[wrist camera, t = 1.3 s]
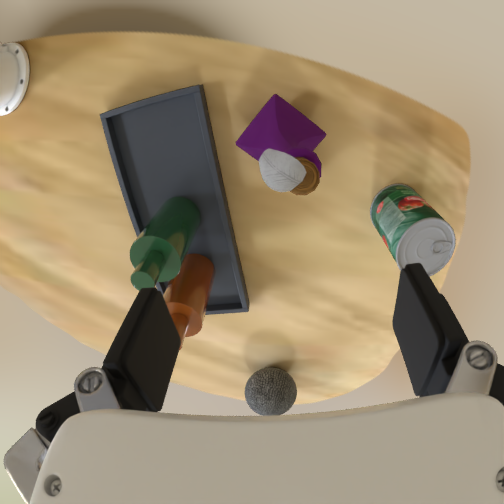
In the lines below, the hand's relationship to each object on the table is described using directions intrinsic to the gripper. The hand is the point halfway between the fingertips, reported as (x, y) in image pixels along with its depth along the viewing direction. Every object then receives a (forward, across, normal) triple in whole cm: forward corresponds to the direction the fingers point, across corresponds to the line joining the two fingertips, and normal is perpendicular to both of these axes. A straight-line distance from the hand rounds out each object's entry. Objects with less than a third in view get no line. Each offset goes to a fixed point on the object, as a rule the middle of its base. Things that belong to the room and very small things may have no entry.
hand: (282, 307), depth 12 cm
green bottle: (+29, +14, +8) cm, 33 cm away
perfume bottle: (+30, 0, -1) cm, 30 cm away
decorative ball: (+30, +6, +44) cm, 53 cm away
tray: (+29, +14, +8) cm, 34 cm away
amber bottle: (+29, +14, +17) cm, 36 cm away
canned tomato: (+30, -16, +10) cm, 35 cm away
